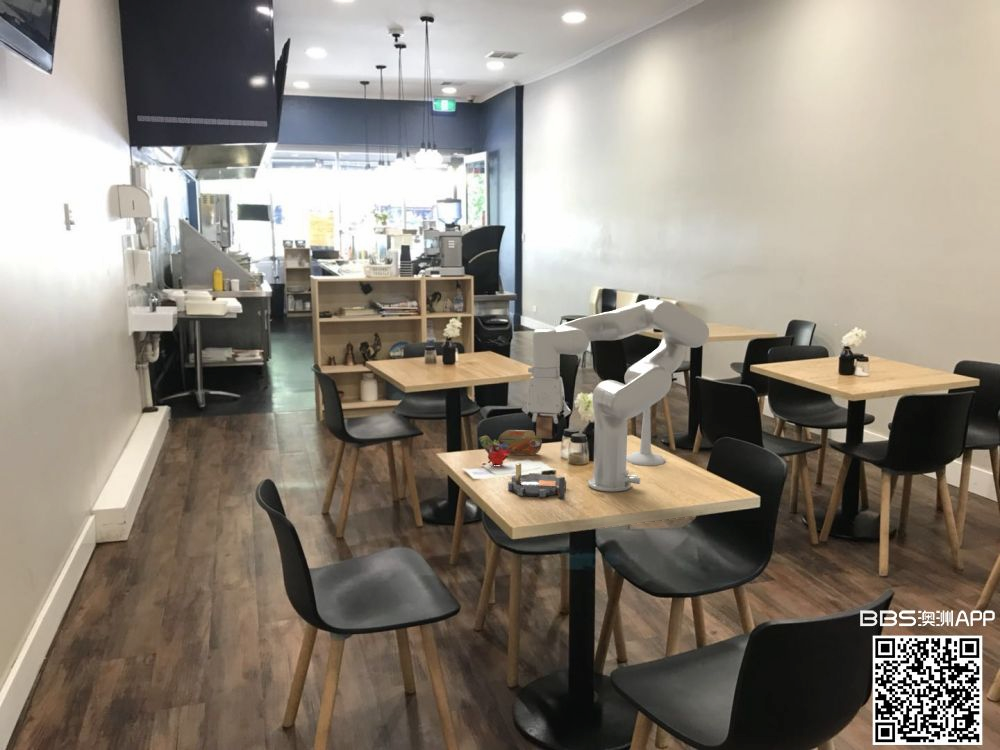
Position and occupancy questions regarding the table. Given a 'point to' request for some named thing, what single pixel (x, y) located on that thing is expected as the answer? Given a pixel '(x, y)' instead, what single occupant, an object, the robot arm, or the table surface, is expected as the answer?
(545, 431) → the walnut block
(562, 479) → the index post
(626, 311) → the robot arm
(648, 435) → the candlestick
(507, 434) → the tin
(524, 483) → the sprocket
